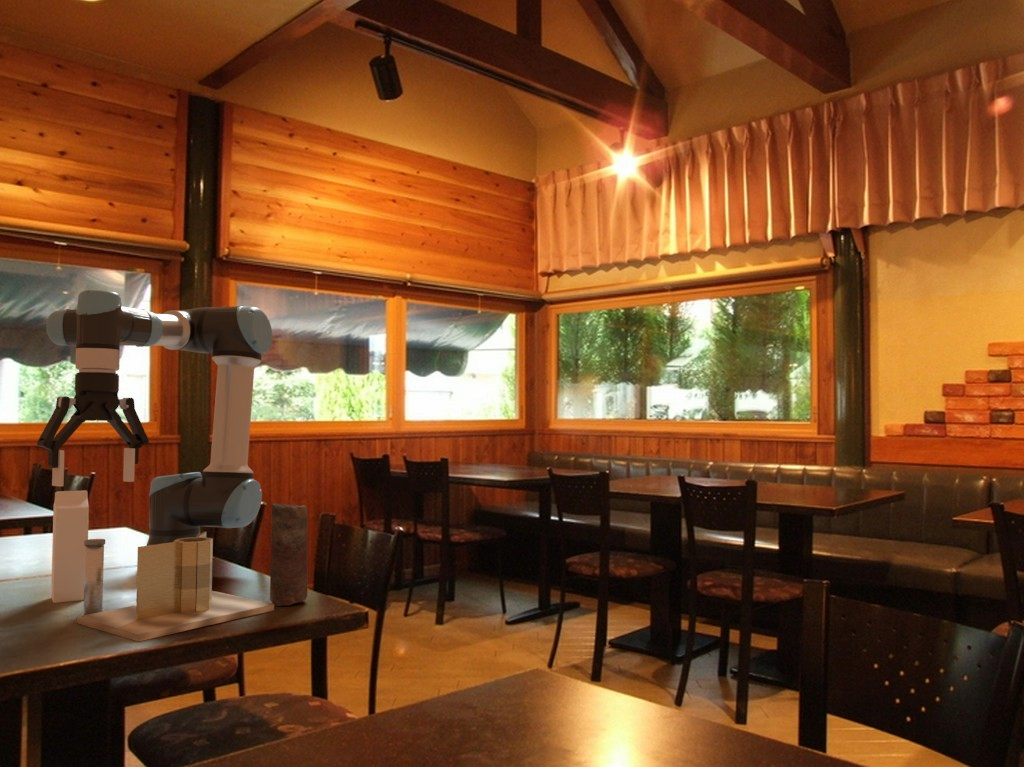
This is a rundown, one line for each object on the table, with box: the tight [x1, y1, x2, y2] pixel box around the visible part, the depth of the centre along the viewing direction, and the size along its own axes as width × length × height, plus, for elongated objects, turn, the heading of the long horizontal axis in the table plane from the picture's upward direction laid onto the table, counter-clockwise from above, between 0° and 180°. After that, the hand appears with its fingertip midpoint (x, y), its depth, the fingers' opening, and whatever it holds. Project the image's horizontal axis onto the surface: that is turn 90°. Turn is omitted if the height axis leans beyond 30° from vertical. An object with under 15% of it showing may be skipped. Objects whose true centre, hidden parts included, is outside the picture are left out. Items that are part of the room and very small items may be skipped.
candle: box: [269, 503, 309, 607], centre depth 170 cm, size 8×7×20 cm
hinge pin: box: [82, 538, 106, 616], centre depth 159 cm, size 4×4×14 cm
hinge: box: [136, 531, 214, 620], centre depth 159 cm, size 19×11×13 cm, turn 144°
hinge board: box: [76, 590, 275, 642], centre depth 158 cm, size 28×20×1 cm
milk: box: [50, 489, 90, 604], centre depth 172 cm, size 6×6×22 cm
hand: (94, 483), depth 159 cm, fingers open, 13 cm apart
